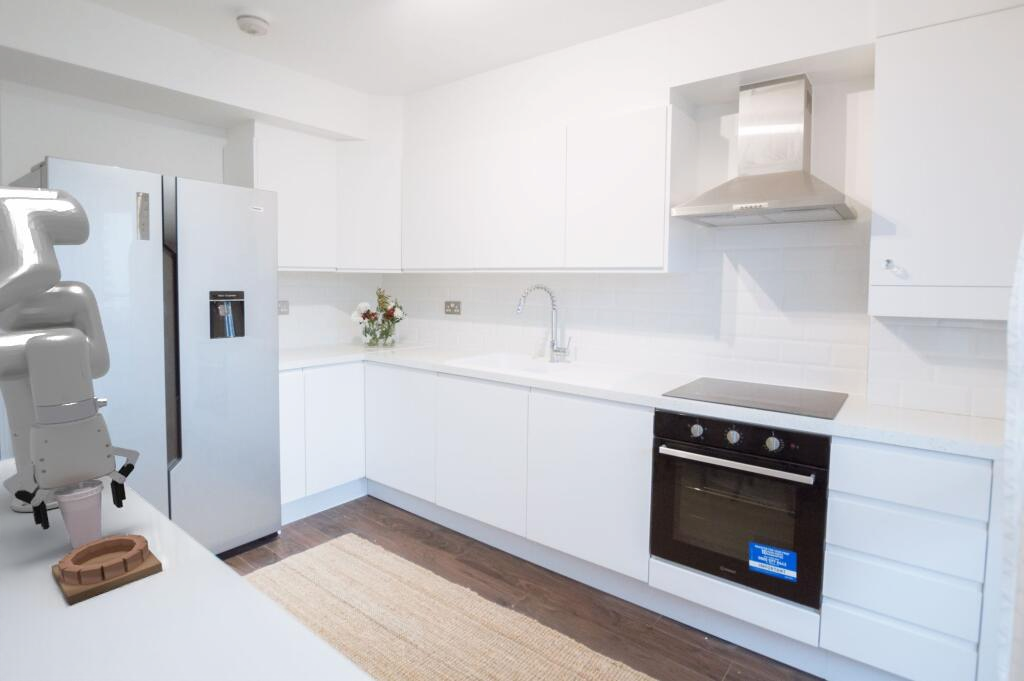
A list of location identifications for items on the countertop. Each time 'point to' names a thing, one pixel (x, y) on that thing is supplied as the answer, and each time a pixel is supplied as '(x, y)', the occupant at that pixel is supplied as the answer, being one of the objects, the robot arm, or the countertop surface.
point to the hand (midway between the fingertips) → (83, 515)
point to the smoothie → (81, 511)
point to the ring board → (104, 566)
